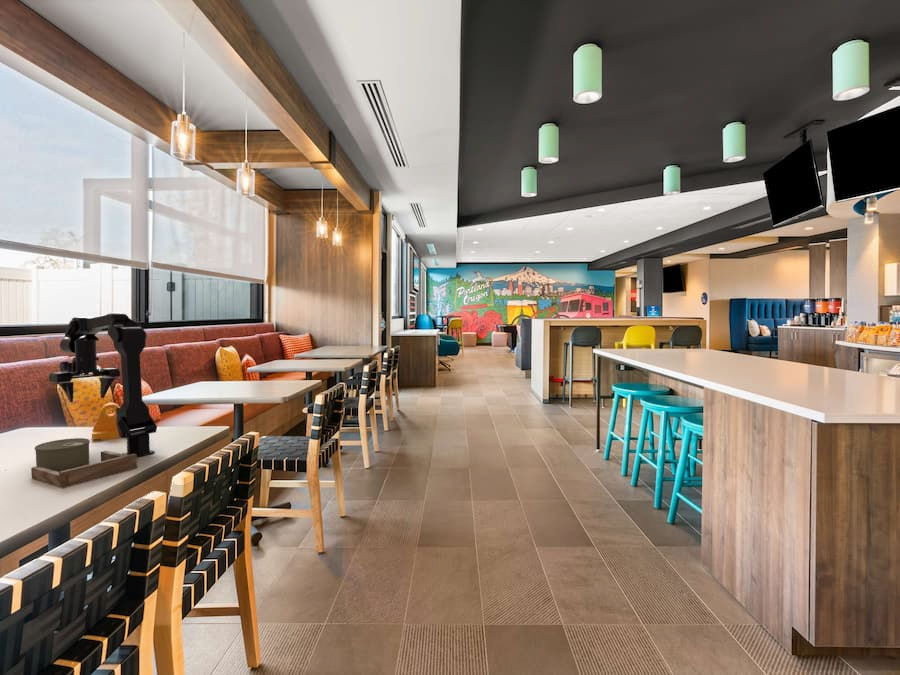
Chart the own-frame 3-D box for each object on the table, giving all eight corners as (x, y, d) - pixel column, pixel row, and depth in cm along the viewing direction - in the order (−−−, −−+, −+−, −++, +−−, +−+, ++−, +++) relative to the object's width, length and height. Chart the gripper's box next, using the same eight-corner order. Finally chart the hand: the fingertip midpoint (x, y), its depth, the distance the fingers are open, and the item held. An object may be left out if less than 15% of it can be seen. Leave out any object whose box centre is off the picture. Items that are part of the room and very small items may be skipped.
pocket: (137, 468, 132) (136, 454, 132) (62, 488, 116) (61, 472, 116) (106, 460, 138) (105, 447, 138) (31, 478, 123) (31, 463, 122)
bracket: (91, 442, 159) (91, 407, 159) (92, 437, 165) (91, 404, 165) (129, 437, 165) (129, 404, 165) (129, 433, 171) (128, 401, 171)
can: (61, 460, 138) (61, 437, 138) (100, 461, 138) (100, 438, 138) (23, 474, 127) (22, 449, 126) (65, 474, 126) (65, 449, 126)
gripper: (103, 351, 168) (104, 394, 169) (39, 355, 151) (41, 402, 152) (121, 352, 163) (122, 396, 164) (57, 356, 146) (58, 405, 147)
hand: (87, 400), depth 157 cm, fingers open, 9 cm apart
